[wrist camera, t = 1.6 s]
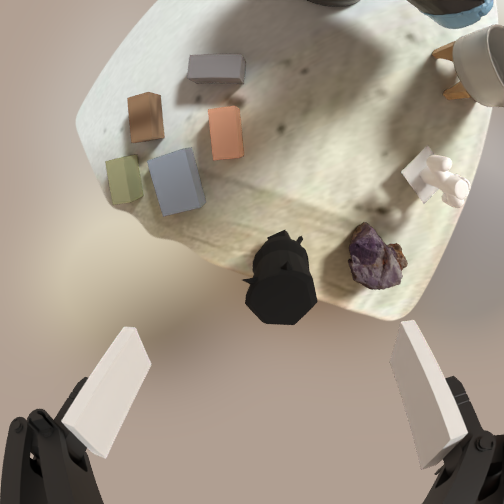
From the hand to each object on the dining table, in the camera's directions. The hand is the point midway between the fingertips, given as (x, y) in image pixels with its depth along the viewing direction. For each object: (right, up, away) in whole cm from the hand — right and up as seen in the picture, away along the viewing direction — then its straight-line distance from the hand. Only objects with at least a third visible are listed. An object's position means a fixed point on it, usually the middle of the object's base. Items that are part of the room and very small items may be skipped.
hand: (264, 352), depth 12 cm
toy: (+5, +7, +36) cm, 37 cm away
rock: (+21, +5, +35) cm, 42 cm away
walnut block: (-18, +28, +29) cm, 45 cm away
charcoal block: (-6, +34, +25) cm, 43 cm away
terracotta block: (-4, +24, +30) cm, 38 cm away
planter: (+38, +38, +19) cm, 57 cm away
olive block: (-23, +19, +34) cm, 45 cm away
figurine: (+29, +19, +28) cm, 44 cm away
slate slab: (-13, +17, +34) cm, 40 cm away
